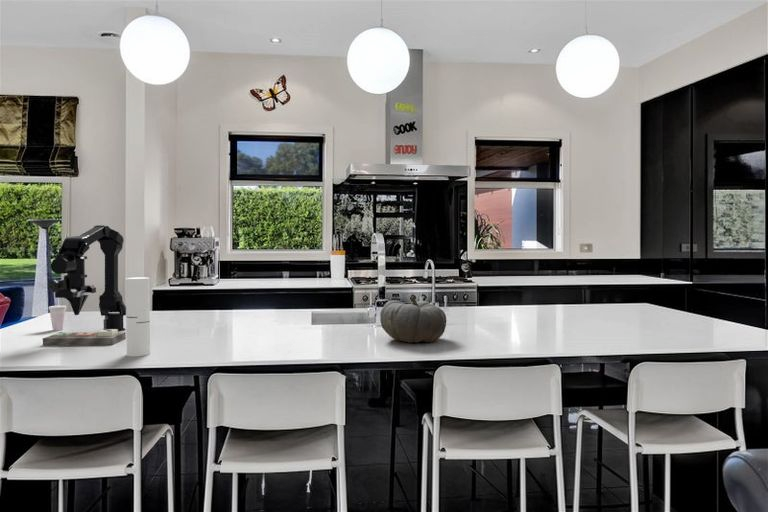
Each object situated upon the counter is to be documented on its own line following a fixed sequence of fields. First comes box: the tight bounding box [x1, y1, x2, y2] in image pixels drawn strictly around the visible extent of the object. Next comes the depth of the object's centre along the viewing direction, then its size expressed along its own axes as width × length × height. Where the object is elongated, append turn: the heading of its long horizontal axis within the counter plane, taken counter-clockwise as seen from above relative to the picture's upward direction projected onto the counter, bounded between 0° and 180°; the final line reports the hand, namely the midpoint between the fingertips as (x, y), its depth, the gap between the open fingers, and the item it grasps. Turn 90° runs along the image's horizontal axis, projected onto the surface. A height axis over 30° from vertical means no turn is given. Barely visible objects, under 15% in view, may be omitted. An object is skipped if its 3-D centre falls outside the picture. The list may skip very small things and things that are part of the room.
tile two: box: [51, 331, 74, 337], centre depth 210 cm, size 5×5×3 cm
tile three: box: [97, 328, 119, 336], centre depth 211 cm, size 5×5×3 cm
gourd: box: [379, 295, 447, 343], centre depth 216 cm, size 25×25×17 cm
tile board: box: [42, 331, 127, 347], centre depth 210 cm, size 24×12×2 cm, turn 94°
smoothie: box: [48, 298, 67, 332], centre depth 237 cm, size 6×6×14 cm
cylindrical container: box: [125, 276, 151, 358], centre depth 189 cm, size 7×7×25 cm
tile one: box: [75, 331, 95, 337], centre depth 210 cm, size 5×5×3 cm
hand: (76, 315), depth 210 cm, fingers closed
